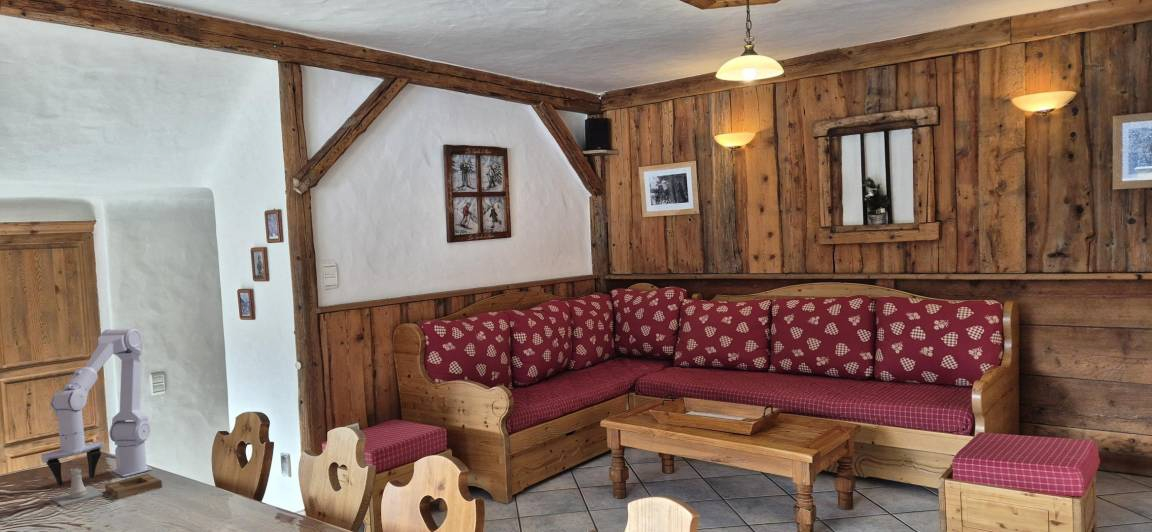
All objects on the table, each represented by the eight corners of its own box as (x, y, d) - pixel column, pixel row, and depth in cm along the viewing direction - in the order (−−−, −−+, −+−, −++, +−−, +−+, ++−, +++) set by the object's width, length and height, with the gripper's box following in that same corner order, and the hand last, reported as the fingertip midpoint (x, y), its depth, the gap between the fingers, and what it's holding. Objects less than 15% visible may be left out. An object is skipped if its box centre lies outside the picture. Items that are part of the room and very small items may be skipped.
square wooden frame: (105, 491, 214) (105, 484, 214) (147, 480, 222) (147, 473, 222) (118, 499, 207) (118, 492, 206) (162, 487, 215) (161, 480, 215)
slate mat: (51, 499, 210) (51, 497, 210) (92, 488, 217) (92, 486, 217) (61, 506, 203) (61, 504, 203) (103, 495, 210) (103, 493, 210)
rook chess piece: (78, 499, 207) (76, 470, 206) (64, 499, 208) (61, 470, 207) (91, 493, 211) (88, 465, 211) (77, 493, 212) (74, 465, 212)
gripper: (44, 441, 201) (49, 491, 202) (105, 428, 212) (110, 476, 213) (37, 437, 206) (41, 486, 206) (97, 425, 216) (102, 471, 217)
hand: (76, 481), depth 210 cm, fingers open, 7 cm apart
